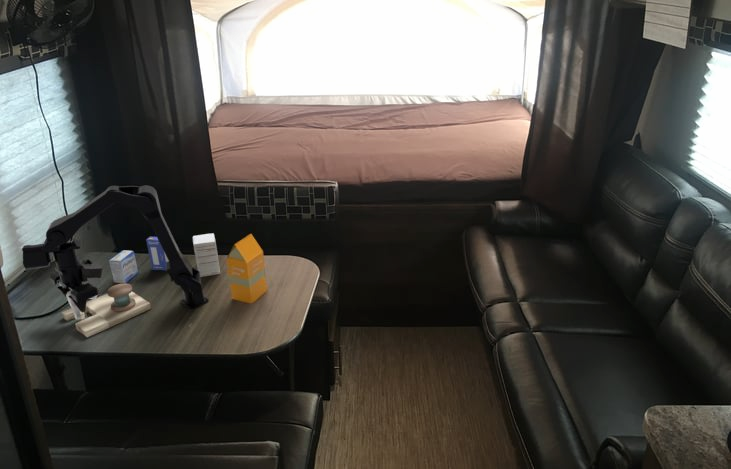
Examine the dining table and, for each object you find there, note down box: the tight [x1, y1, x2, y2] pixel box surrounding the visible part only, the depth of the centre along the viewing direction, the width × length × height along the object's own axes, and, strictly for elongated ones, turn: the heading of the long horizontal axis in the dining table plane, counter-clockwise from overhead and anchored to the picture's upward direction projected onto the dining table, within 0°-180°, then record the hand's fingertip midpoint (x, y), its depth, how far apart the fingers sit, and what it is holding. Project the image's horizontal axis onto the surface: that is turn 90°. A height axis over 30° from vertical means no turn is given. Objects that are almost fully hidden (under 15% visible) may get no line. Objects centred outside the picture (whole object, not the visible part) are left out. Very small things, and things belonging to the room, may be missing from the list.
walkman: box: [145, 236, 169, 271], centre depth 197 cm, size 8×3×12 cm, turn 81°
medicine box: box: [108, 249, 139, 284], centre depth 192 cm, size 8×4×9 cm, turn 168°
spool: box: [106, 283, 136, 312], centre depth 172 cm, size 7×7×6 cm
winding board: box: [61, 291, 152, 338], centre depth 173 cm, size 16×20×2 cm
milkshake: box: [65, 290, 88, 321], centre depth 167 cm, size 4×5×10 cm
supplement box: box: [192, 232, 221, 278], centre depth 194 cm, size 7×7×13 cm
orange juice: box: [226, 233, 268, 304], centre depth 178 cm, size 8×9×20 cm
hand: (80, 309), depth 168 cm, fingers closed on milkshake, 4 cm apart
